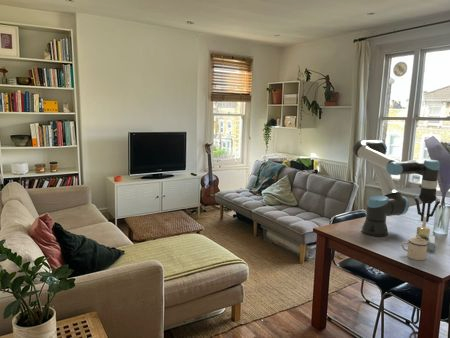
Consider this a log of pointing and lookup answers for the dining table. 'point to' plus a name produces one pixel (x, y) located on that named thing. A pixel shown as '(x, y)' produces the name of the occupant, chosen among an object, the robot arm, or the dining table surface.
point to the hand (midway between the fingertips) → (423, 227)
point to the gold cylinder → (423, 232)
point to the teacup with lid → (416, 248)
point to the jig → (430, 241)
